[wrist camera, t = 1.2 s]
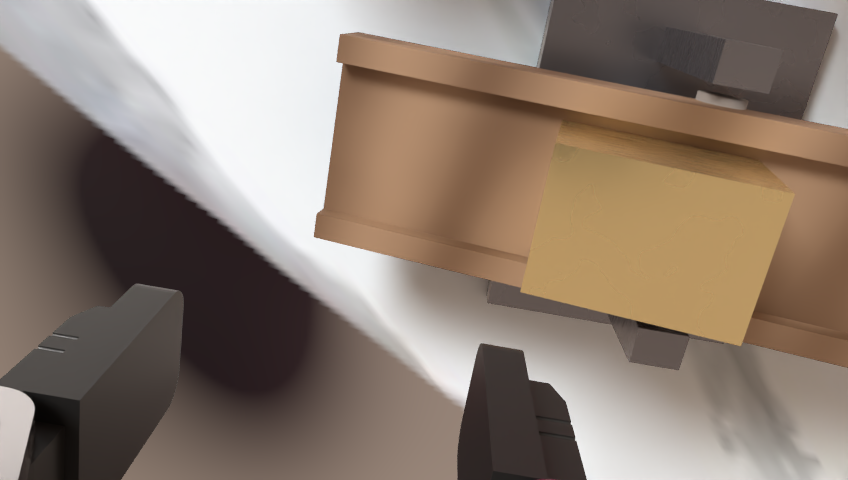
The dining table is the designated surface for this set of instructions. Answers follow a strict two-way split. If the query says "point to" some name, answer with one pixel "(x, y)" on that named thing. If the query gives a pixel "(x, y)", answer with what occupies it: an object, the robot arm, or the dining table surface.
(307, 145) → the dining table surface
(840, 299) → the balance beam
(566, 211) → the block
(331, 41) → the dining table surface
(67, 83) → the dining table surface
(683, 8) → the pivot stand
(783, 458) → the dining table surface
